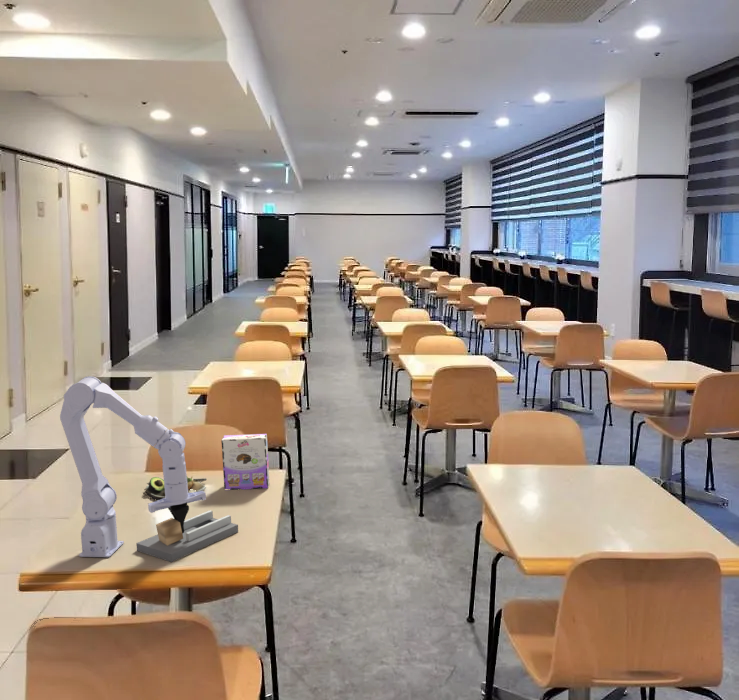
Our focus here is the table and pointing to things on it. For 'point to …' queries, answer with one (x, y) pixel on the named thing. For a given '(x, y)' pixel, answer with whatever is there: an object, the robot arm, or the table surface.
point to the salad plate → (158, 490)
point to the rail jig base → (190, 537)
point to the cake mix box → (245, 461)
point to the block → (169, 531)
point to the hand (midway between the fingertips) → (180, 532)
